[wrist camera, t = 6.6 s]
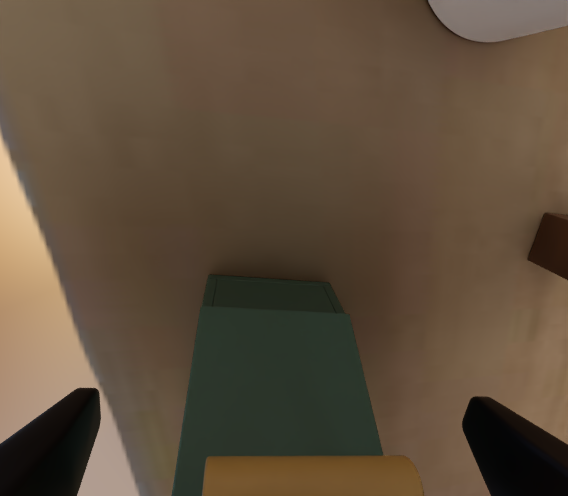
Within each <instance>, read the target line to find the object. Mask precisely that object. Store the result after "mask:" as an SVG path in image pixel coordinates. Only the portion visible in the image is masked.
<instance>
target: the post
mask: <svg viewBox="0 0 568 496" xmlns="http://www.w3.org/2000/svg"><path fill="white" fill-rule="evenodd" d="M528 260H529V261H531V262H533V263H535V264H537V265H539V266H541V267H543V268H545V269H547V270H549V271H551V272H553V273H555V274H557V275H559V276H561V277H563V278H565V279H567V280H568V215H560V214H551V213H545V215H544V218H543V220H542V223H541V226H540V228H539V231H538V234H537V236H536V239H535V242H534V244H533V247H532V250H531V253H530V255H529V258H528Z"/></svg>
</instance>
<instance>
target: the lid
mask: <svg viewBox="0 0 568 496" xmlns="http://www.w3.org/2000/svg"><path fill="white" fill-rule="evenodd" d="M172 496H424V491H423V487H422V483H421V479H420V476H419V474H418V471H417V469H416V467H415V465H414V464H413V462H412V461H411V460H410V459H409V458H408V457H406V456H383V452H382V448H381V444H380V439H379V435H378V431H377V427H376V423H375V419H374V415H373V410H372V406H371V402H370V398H369V394H368V390H367V386H366V381H365V377H364V373H363V369H362V365H361V361H360V357H359V352H358V348H357V344H356V340H355V336H354V332H353V328H352V323H351V319H350V315H349V314H334V313H315V312H297V311H278V310H260V309H242V308H223V307H205V306H202V307H201V308H200V314H199V321H198V327H197V334H196V340H195V347H194V353H193V360H192V366H191V373H190V379H189V386H188V392H187V399H186V405H185V412H184V419H183V425H182V432H181V438H180V445H179V451H178V458H177V464H176V471H175V477H174V484H173V490H172Z"/></svg>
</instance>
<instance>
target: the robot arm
mask: <svg viewBox="0 0 568 496" xmlns="http://www.w3.org/2000/svg"><path fill="white" fill-rule="evenodd" d="M100 420H101V414H100V397H99V391H98V390H97V389H96V388H78V389H76V390H74V391H73V392H71V393H70V394H69V395H67V396H66V397H64V398H63V399H62V400H61V401H59V402H58V403H56V404H55V405H53V406H52V407H51V408H49V409H48V410H47V411H45V412H44V413H42V414H41V415H40V416H38V417H37V418H36V419H34V420H33V421H31V422H30V423H29V424H27V425H26V426H24V427H23V428H22V429H20V430H19V431H18V432H16V433H15V434H13V435H12V436H11V437H9V438H8V439H6V440H5V441H4V442H2V443H1V444H0V496H77V493H78V491H79V488H80V485H81V482H82V478H83V475H84V472H85V469H86V466H87V463H88V460H89V457H90V454H91V451H92V448H93V445H94V442H95V439H96V436H97V433H98V430H99V426H100ZM462 428H463V432H464V434H465V436H466V439H467V441H468V443H469V446H470V448H471V450H472V453H473V455H474V457H475V460H476V462H477V464H478V467H479V469H480V472H481V474H482V476H483V479H484V481H485V483H486V485H487V488H488V490H489V492H490V494H491V496H568V445H567V444H566V443H564V442H563V441H561V440H559V439H558V438H556V437H554V436H553V435H551V434H549V433H548V432H546V431H544V430H543V429H541V428H539V427H538V426H536V425H535V424H533V423H531V422H530V421H528V420H526V419H525V418H523V417H521V416H520V415H518V414H516V413H515V412H513V411H512V410H510V409H508V408H507V407H505V406H503V405H502V404H500V403H498V402H497V401H495V400H493V399H492V398H490V397H478V396H476V397H473V398H471V399H470V401H469V404H468V407H467V410H466V412H465V415H464V418H463V421H462Z"/></svg>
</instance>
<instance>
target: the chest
mask: <svg viewBox="0 0 568 496" xmlns="http://www.w3.org/2000/svg"><path fill="white" fill-rule="evenodd" d="M202 306H205V307H223V308H242V309H260V310H278V311H297V312H315V313H334V314H345V312H344V310H343V308H342V306H341V304H340V302H339V301H338V299H337V297H336V295H335V293H334V291H333V289H332V287H331V285H330V283H327V282H312V281H297V280H282V279H267V278H252V277H237V276H222V275H208V280H207V284H206V289H205V293H204V298H203V303H202Z"/></svg>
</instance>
